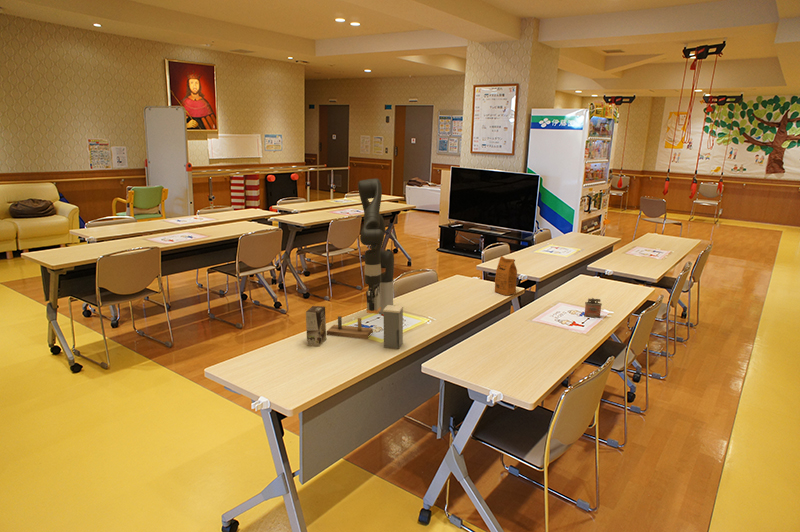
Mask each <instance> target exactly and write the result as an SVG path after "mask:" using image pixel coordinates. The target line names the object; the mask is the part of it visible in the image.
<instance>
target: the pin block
mask: <svg viewBox="0 0 800 532" xmlns="http://www.w3.org/2000/svg"><path fill="white" fill-rule="evenodd" d="M342 321H343V319H342V315H339V316H337V324H333V325H332V326H331V327H330V328H328V329H326V336H333V337H345V338H354V339H362V340H367V339H368V338H369V337H370V336H371V335H372V334H373V331H374V330H373V329H374V328H372V327H363V326H362V323H363V322H362V318H361V317H358V318H357V326H351V325H343V323H342ZM371 333H372V334H371ZM370 334H371V335H370ZM369 335H370V336H369ZM368 336H369V337H368Z"/></svg>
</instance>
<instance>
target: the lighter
mask: <svg viewBox="0 0 800 532" xmlns="http://www.w3.org/2000/svg"><path fill="white" fill-rule="evenodd" d="M602 305H603V304H602V303H601V298H594V297H591V298H588V299H587V301H585V307H584V314H583V316H584V317H585V318H591V319H600V318H601V310H602Z"/></svg>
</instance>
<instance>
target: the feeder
mask: <svg viewBox="0 0 800 532" xmlns="http://www.w3.org/2000/svg"><path fill="white" fill-rule="evenodd" d="M403 308H404V306H403V305H394V304H393V305H387V306H386V307H385V308H384V310H383V315H382V316H383V348H385V349H394V350H395V349H396V350H399V349H401V347H402V345H403V344H404V339H403V337H404V333H403V332H404V326H403V325H404V320H403V319H404V309H403Z"/></svg>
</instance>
